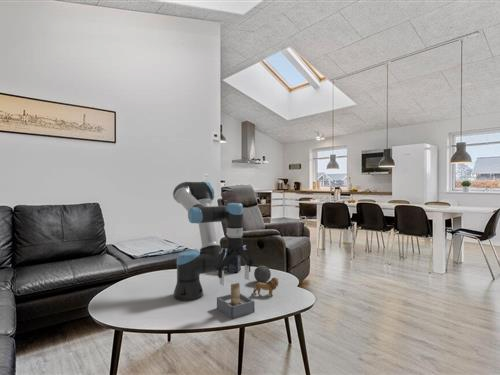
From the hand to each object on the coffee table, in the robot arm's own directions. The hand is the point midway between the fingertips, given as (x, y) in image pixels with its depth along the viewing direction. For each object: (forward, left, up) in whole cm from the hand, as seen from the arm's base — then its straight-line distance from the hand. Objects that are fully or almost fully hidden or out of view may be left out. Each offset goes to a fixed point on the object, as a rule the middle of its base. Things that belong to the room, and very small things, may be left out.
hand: (234, 281), depth 137 cm
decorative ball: (-24, +34, -13) cm, 44 cm away
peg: (+1, 0, -13) cm, 13 cm away
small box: (-56, +30, -13) cm, 65 cm away
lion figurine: (-7, +23, -13) cm, 28 cm away
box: (0, 0, -13) cm, 13 cm away
